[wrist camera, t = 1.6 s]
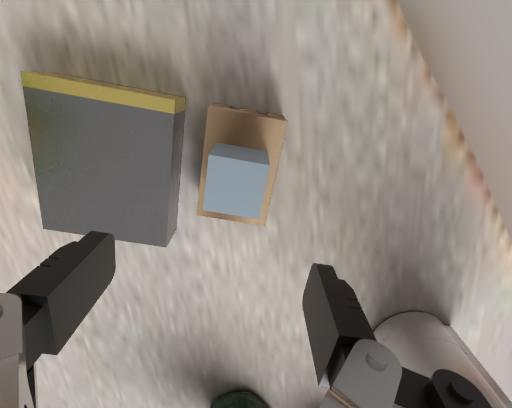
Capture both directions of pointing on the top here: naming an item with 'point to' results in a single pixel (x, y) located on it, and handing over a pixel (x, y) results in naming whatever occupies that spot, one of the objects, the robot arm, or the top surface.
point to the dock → (105, 156)
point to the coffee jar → (238, 401)
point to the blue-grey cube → (236, 180)
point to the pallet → (244, 135)
